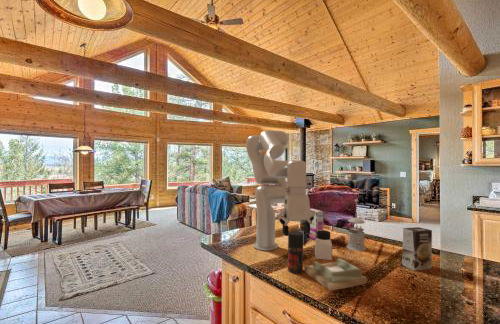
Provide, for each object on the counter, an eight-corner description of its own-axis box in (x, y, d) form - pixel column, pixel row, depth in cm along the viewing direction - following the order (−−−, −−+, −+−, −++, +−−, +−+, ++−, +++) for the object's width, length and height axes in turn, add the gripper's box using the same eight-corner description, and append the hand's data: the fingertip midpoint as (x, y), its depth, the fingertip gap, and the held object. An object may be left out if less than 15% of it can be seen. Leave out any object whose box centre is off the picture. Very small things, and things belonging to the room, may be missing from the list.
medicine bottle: (332, 260, 113) (332, 233, 113) (315, 259, 114) (316, 232, 114) (330, 254, 120) (330, 229, 120) (314, 253, 121) (315, 228, 121)
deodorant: (286, 267, 105) (286, 231, 105) (300, 267, 105) (300, 231, 105) (289, 273, 99) (290, 235, 99) (304, 273, 99) (305, 235, 99)
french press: (362, 244, 135) (363, 198, 136) (370, 252, 124) (371, 201, 124) (343, 244, 136) (344, 197, 136) (349, 251, 125) (350, 200, 125)
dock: (304, 271, 101) (304, 258, 101) (337, 266, 107) (337, 254, 107) (330, 290, 86) (330, 276, 86) (366, 283, 92) (366, 269, 92)
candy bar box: (323, 240, 142) (324, 211, 142) (316, 241, 140) (316, 211, 140) (313, 235, 152) (313, 208, 152) (305, 235, 151) (306, 208, 151)
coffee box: (415, 271, 103) (415, 231, 103) (401, 265, 109) (402, 227, 109) (432, 269, 105) (432, 230, 105) (418, 263, 112) (418, 226, 112)
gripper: (281, 192, 95) (281, 238, 95) (320, 191, 101) (320, 234, 101) (273, 191, 102) (272, 233, 102) (309, 190, 108) (309, 230, 108)
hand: (296, 234), depth 101 cm, fingers open, 9 cm apart
